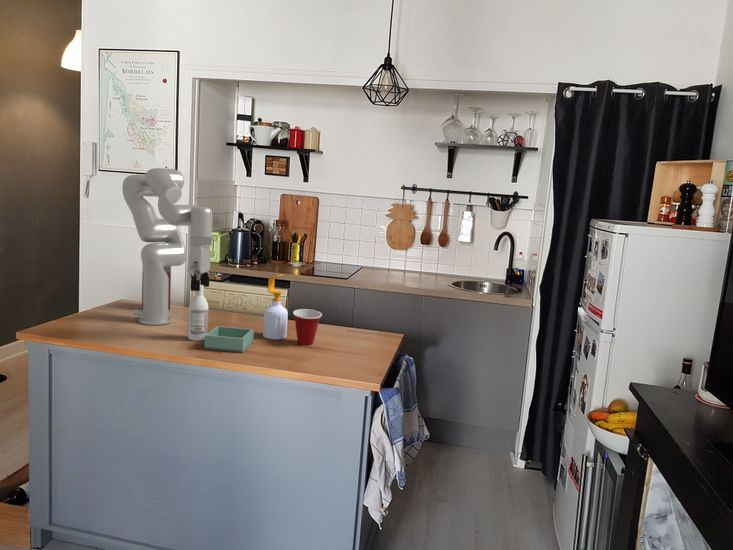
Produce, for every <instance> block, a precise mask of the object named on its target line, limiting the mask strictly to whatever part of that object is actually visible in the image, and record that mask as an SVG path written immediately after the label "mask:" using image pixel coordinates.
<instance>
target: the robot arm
mask: <svg viewBox="0 0 733 550" xmlns="http://www.w3.org/2000/svg"><path fill="white" fill-rule="evenodd" d="M184 185H185V178H184V175H183V174H182V172H181V171H180V170H177V169H173V168H161V167H154V168H150V169H149V170H147V171H146V173H145V174H131V175H127V176H126V177H125V178H124V179H123V181H122V186H121V187H122V188H121V189H122V195H123V198H124V201H125V203H126V205H127V207H128V209H129V210H130V212H131V214H132V218H133V221H134V224H135V228H136V231H137V233H138V234H137V235H138V237H139V238H140V240H141V241H142V242H144V243H148V244H145V245H144V246H143V247H142V248H141V250H140V258H141V264H142V272H143V310H142V309H134V310H133V316H139V318H138V323H140V324H142V325H147V326H148V325H149V326H160V325H161V326H162V325H167V324H171V323H172V322H173V318H172V317H171V316H169V310H168V294H169V278H168V275H167V273H166V272H165V270H164V269H163V267H168V266H171V267H179V266H182V265H184V264H185V263H186V261H187V249H186V246H185V242H184V240H183V237H182V234H181V231H180V228H179V227H180V226H181V227H183V226H185V227H188V226H189V227H190V228H189V245H190V249H189V256H188V273H189V275H190V278H189V279H190V291H193V292H195V291H200V285H203V288H204V287H205V288H209V287H210V274H211V273H210V271H211V247H212V243H213V242H212V241H213V209H212V208H211V207H207V206H200V205H197V204H177V203H178V201H180V200H181V197H182V189H183V187H184ZM145 197H153V198H154V197H157V198H158V200H157V208H158V214H159V215H160V216H161V217H162V218H159V217H158V216H157V215H156V212H155V208H154V207H153V206H152V204H151V203H150V202H149V201H148V200H147V199H146V198H145Z"/></svg>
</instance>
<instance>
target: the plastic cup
mask: <svg viewBox="0 0 733 550" xmlns="http://www.w3.org/2000/svg"><path fill="white" fill-rule="evenodd" d="M292 314H293V317H294V321H295V323H294V324H295V330H296V339H297V344H298V345H300V346H311V345H313V344H314V342H315V338H316V336H317V335H316V334H317V331H318V325H319V322H320V319H321V317H322V316H323V313H322V312H320V311H319V310H318V311H317V310H314V309H308V308H300V309H294V311H293V312H292Z"/></svg>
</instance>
